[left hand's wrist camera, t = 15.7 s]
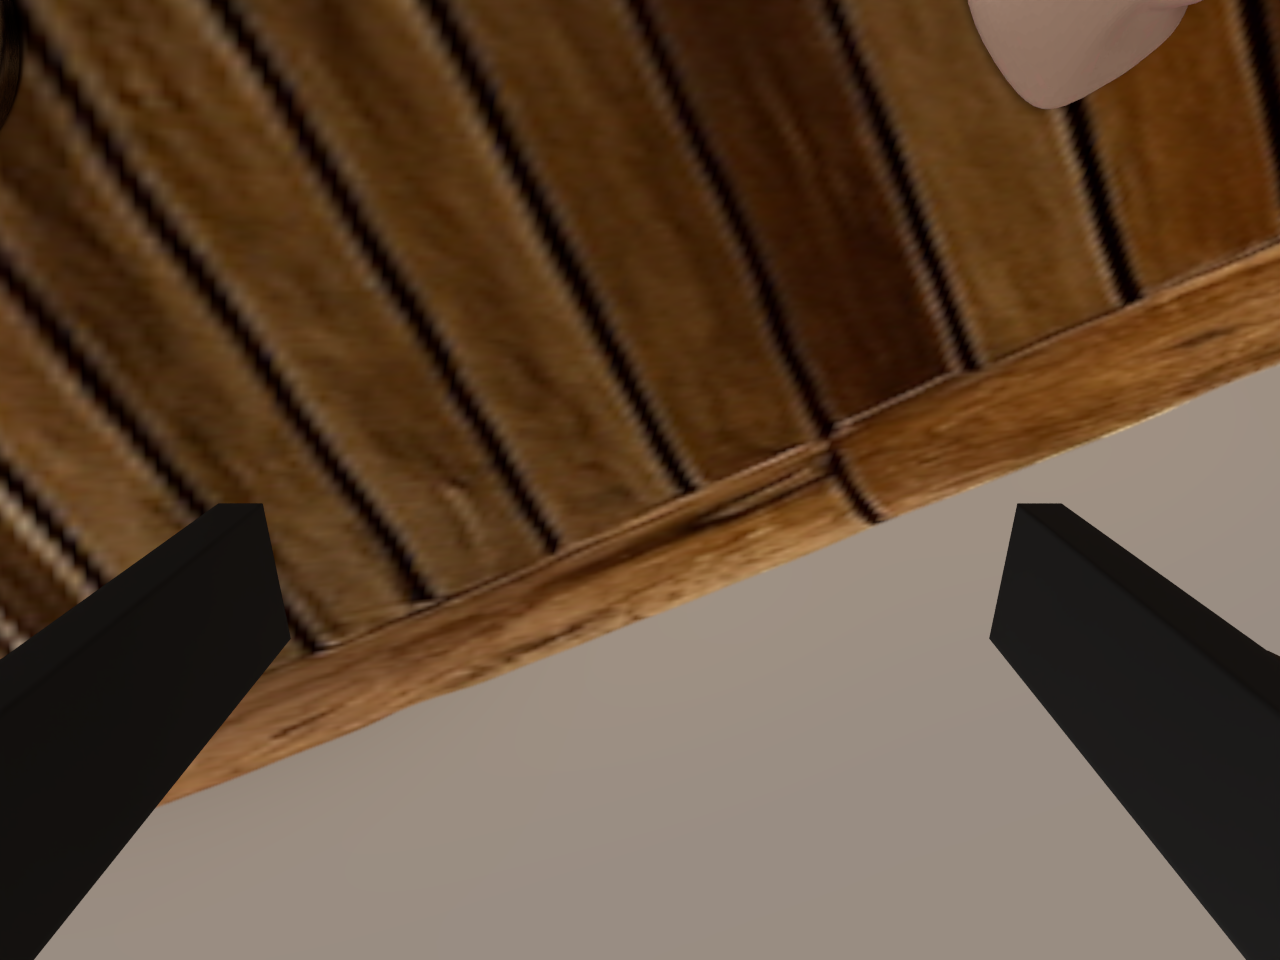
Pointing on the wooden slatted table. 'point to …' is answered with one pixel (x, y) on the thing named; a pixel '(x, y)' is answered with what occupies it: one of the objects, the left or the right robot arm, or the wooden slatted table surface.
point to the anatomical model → (1071, 42)
